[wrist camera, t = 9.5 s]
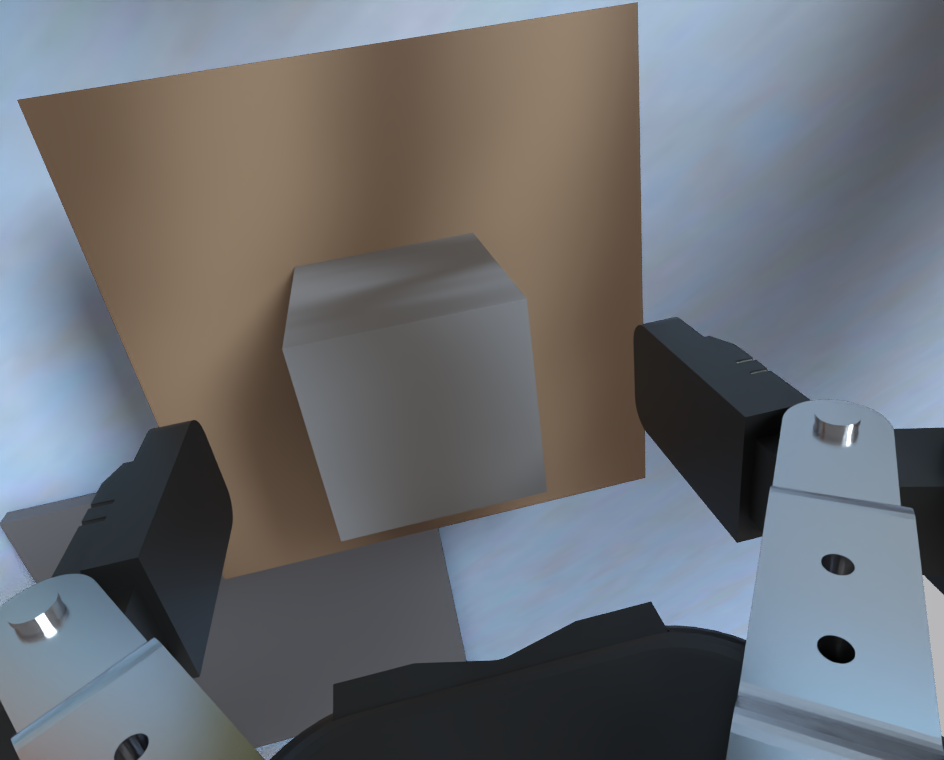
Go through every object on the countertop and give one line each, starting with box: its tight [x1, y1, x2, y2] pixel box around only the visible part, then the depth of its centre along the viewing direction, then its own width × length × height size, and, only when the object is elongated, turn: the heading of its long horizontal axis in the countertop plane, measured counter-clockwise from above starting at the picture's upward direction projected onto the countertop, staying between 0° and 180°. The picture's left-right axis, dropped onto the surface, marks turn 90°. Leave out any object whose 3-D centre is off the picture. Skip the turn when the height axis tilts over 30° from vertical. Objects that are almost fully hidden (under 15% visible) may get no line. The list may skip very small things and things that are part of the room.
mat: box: [0, 493, 466, 748], centre depth 26 cm, size 14×14×1 cm
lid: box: [17, 2, 645, 579], centre depth 14 cm, size 12×12×6 cm
